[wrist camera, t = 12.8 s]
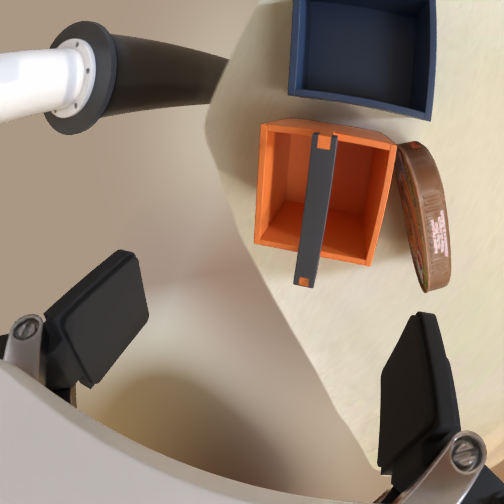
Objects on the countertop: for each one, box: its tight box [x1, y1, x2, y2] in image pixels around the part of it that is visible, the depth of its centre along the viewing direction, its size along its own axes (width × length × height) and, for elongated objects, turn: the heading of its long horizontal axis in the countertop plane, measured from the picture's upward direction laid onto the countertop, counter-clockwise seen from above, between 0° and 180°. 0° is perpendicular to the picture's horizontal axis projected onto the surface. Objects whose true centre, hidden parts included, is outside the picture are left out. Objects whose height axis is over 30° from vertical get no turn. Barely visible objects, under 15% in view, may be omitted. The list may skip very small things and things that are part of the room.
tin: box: [394, 141, 451, 293], centre depth 24 cm, size 15×3×8 cm, turn 22°
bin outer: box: [288, 0, 437, 121], centre depth 19 cm, size 12×12×7 cm
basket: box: [254, 118, 397, 288], centre depth 23 cm, size 10×10×15 cm
